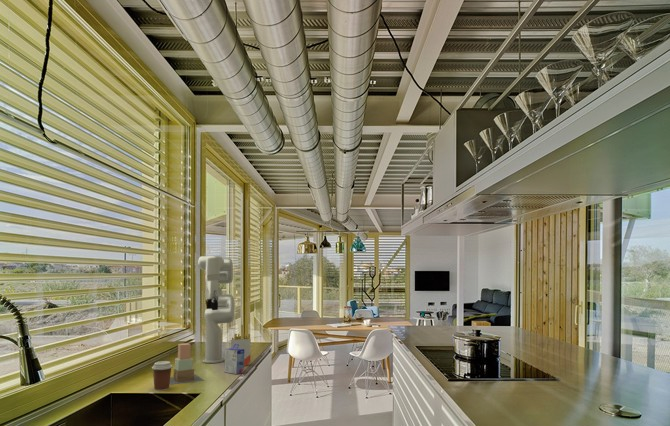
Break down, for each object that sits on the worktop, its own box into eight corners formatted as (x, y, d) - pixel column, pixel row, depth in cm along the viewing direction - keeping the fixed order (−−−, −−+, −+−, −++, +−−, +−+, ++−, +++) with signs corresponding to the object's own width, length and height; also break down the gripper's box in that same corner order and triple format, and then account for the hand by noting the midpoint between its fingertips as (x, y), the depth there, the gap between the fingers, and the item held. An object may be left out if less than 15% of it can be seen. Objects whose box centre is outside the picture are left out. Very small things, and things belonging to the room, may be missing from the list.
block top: (174, 368, 237) (175, 358, 237) (189, 366, 240) (189, 356, 241) (178, 371, 231) (178, 360, 231) (192, 369, 234) (193, 358, 235)
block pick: (177, 358, 237) (178, 343, 238) (187, 357, 240) (188, 343, 240) (180, 359, 233) (180, 345, 234) (190, 358, 235) (190, 344, 236)
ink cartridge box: (244, 372, 250) (245, 344, 252) (236, 374, 246) (237, 346, 247) (232, 370, 256) (232, 343, 258) (224, 372, 252) (224, 344, 253)
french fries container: (230, 365, 270) (230, 333, 272) (250, 364, 272) (250, 332, 274) (230, 367, 265) (231, 334, 267) (250, 365, 268) (250, 333, 270)
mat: (163, 379, 238) (163, 378, 238) (195, 375, 246) (195, 374, 246) (170, 385, 224) (170, 384, 224) (204, 381, 232) (204, 380, 232)
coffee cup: (167, 386, 224) (167, 359, 225) (175, 389, 217) (176, 362, 218) (147, 389, 217) (148, 362, 219) (155, 393, 211) (156, 365, 212)
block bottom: (173, 378, 236) (173, 368, 237) (189, 376, 240) (189, 366, 241) (177, 382, 230) (177, 371, 230) (193, 379, 234) (194, 369, 234)
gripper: (201, 278, 270) (200, 308, 268) (210, 278, 256) (210, 310, 254) (214, 277, 274) (214, 308, 272) (224, 278, 260) (223, 310, 258)
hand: (212, 309), depth 263 cm, fingers open, 9 cm apart
